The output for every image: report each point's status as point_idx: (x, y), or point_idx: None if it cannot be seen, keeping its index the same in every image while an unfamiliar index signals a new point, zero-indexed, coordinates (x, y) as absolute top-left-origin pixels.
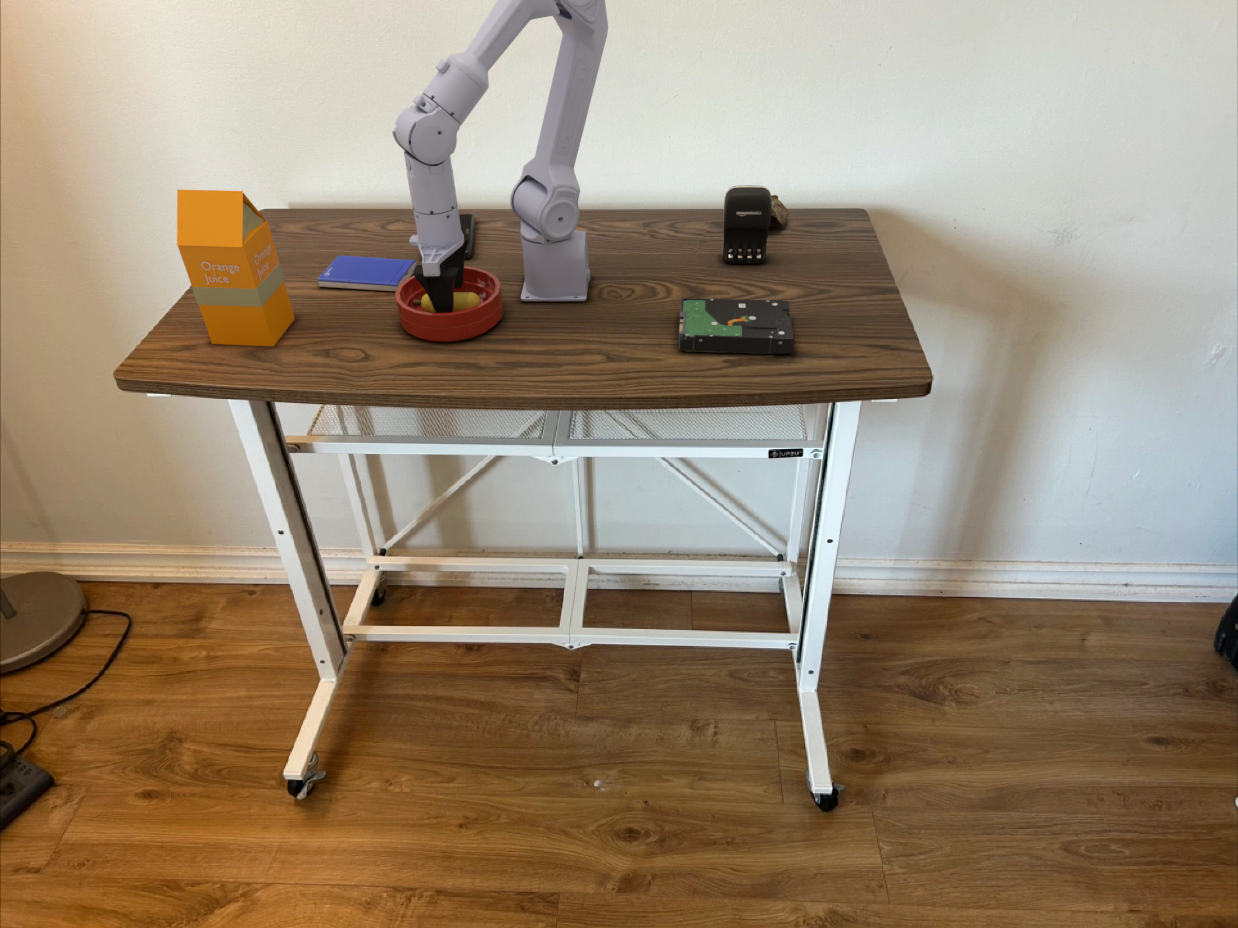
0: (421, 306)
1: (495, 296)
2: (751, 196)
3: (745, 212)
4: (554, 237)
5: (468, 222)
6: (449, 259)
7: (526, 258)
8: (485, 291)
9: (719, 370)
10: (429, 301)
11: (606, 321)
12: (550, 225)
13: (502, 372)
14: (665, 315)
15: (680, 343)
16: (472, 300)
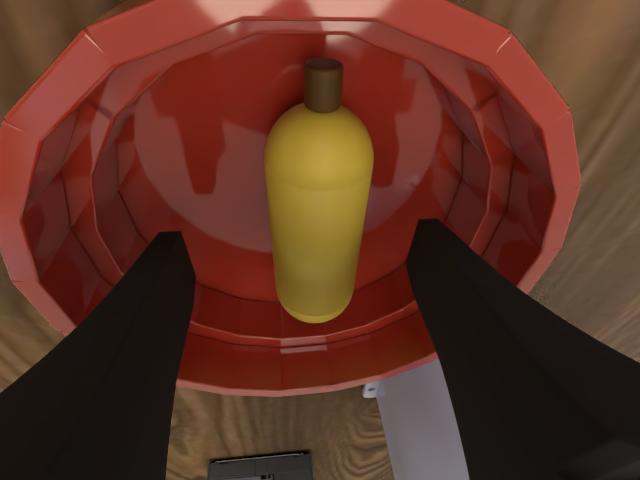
0: (290, 111)
1: (258, 395)
2: None
3: None
4: None
5: None
6: (474, 367)
7: (441, 442)
8: (398, 299)
9: (177, 477)
10: (277, 180)
11: (290, 412)
12: None
13: (29, 345)
14: (310, 442)
15: (207, 477)
16: (291, 314)
